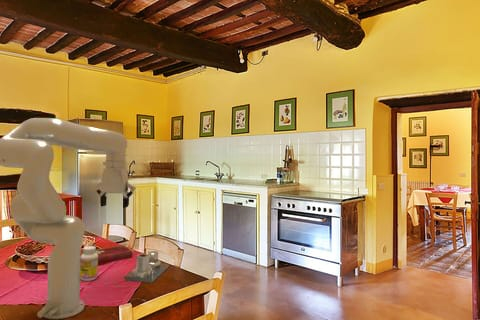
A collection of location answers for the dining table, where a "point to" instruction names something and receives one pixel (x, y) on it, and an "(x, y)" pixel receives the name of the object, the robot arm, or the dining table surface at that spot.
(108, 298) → the dining table surface
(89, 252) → the supplement bottle
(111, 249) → the hardcover book
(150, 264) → the carrier
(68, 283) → the robot arm
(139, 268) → the grey flanged socket
